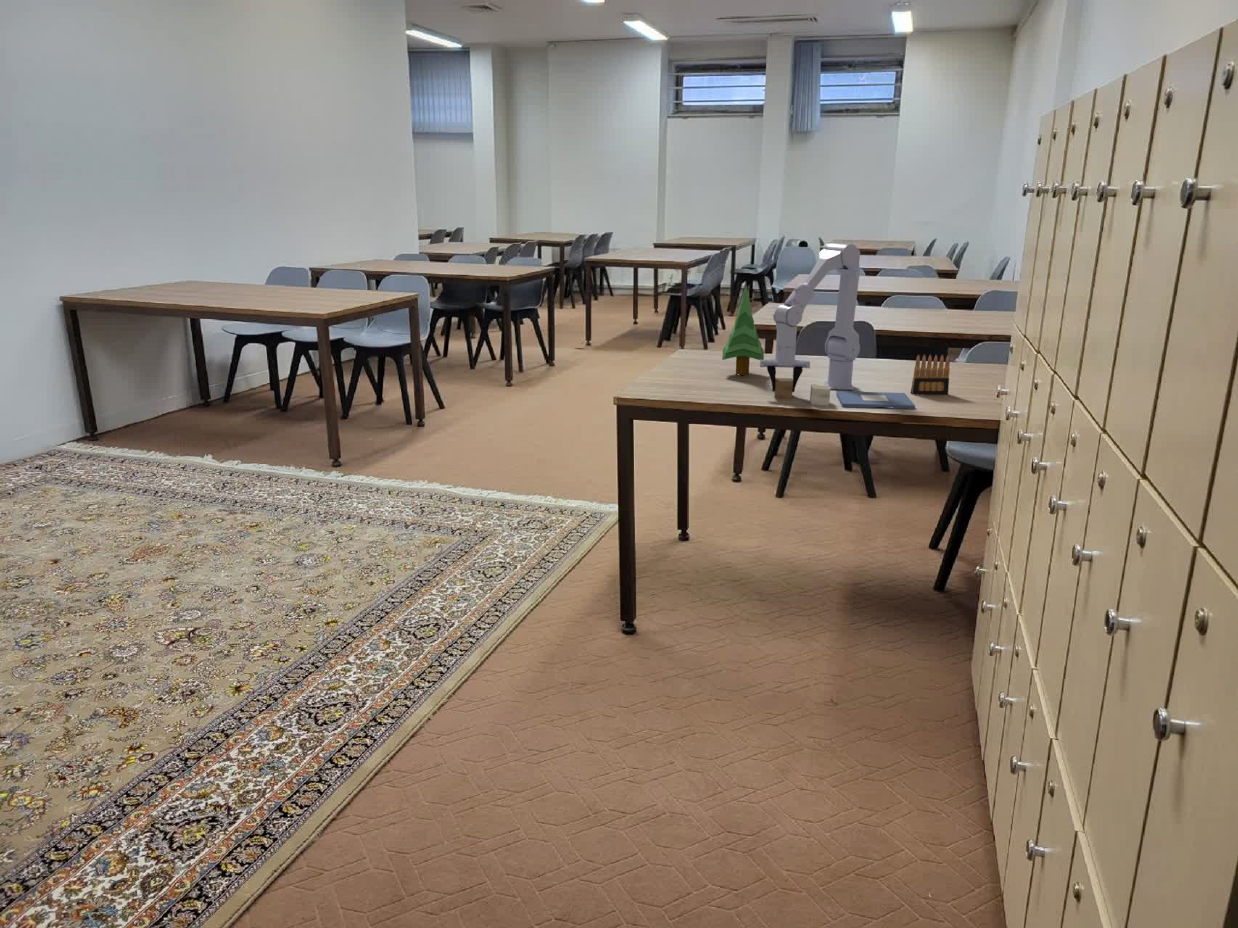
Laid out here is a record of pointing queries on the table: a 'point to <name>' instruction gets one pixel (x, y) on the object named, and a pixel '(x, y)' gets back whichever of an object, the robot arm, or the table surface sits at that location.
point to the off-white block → (820, 395)
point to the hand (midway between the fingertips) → (783, 391)
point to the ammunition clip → (931, 377)
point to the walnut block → (783, 387)
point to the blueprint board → (874, 399)
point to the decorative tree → (743, 338)
